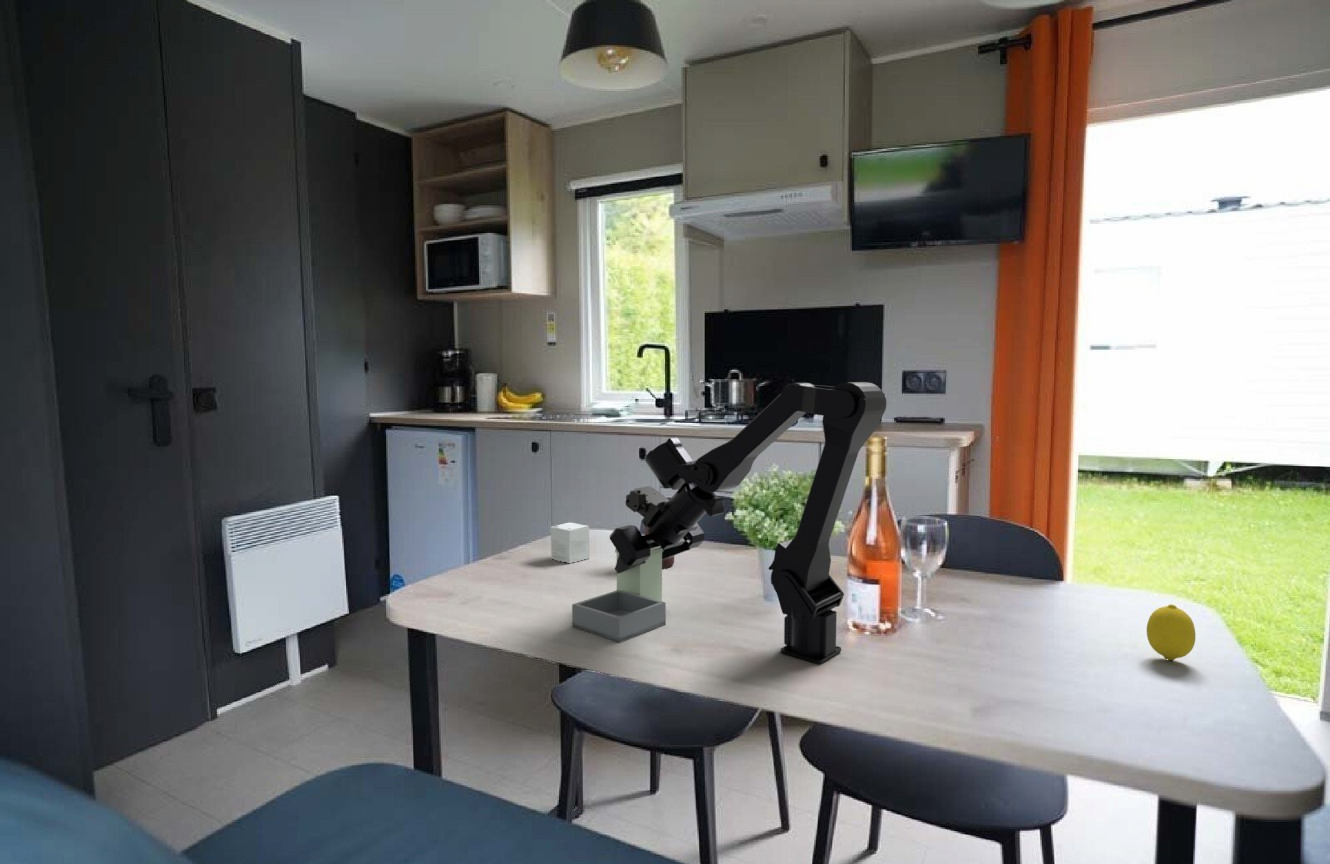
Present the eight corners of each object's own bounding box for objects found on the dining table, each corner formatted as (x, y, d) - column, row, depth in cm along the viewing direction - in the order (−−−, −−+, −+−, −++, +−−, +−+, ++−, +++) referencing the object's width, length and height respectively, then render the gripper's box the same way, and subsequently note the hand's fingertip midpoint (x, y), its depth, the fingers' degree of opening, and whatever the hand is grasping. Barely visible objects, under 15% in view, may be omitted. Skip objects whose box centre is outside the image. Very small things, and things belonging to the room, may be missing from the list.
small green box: (663, 605, 125) (663, 548, 124) (640, 613, 120) (640, 554, 119) (638, 598, 128) (638, 543, 128) (615, 606, 124) (615, 548, 123)
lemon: (1195, 672, 96) (1199, 613, 96) (1145, 663, 99) (1148, 606, 99) (1192, 658, 101) (1195, 602, 100) (1144, 650, 104) (1147, 596, 103)
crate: (665, 624, 115) (665, 602, 114) (619, 642, 107) (619, 618, 107) (618, 610, 122) (618, 589, 121) (572, 626, 114) (572, 604, 113)
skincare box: (590, 559, 156) (590, 525, 156) (568, 564, 152) (568, 529, 151) (571, 554, 160) (571, 521, 160) (550, 559, 156) (549, 525, 155)
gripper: (691, 467, 127) (644, 521, 135) (618, 478, 113) (570, 538, 121) (727, 517, 123) (677, 569, 131) (656, 535, 108) (604, 593, 116)
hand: (633, 566), depth 125 cm, fingers open, 8 cm apart
